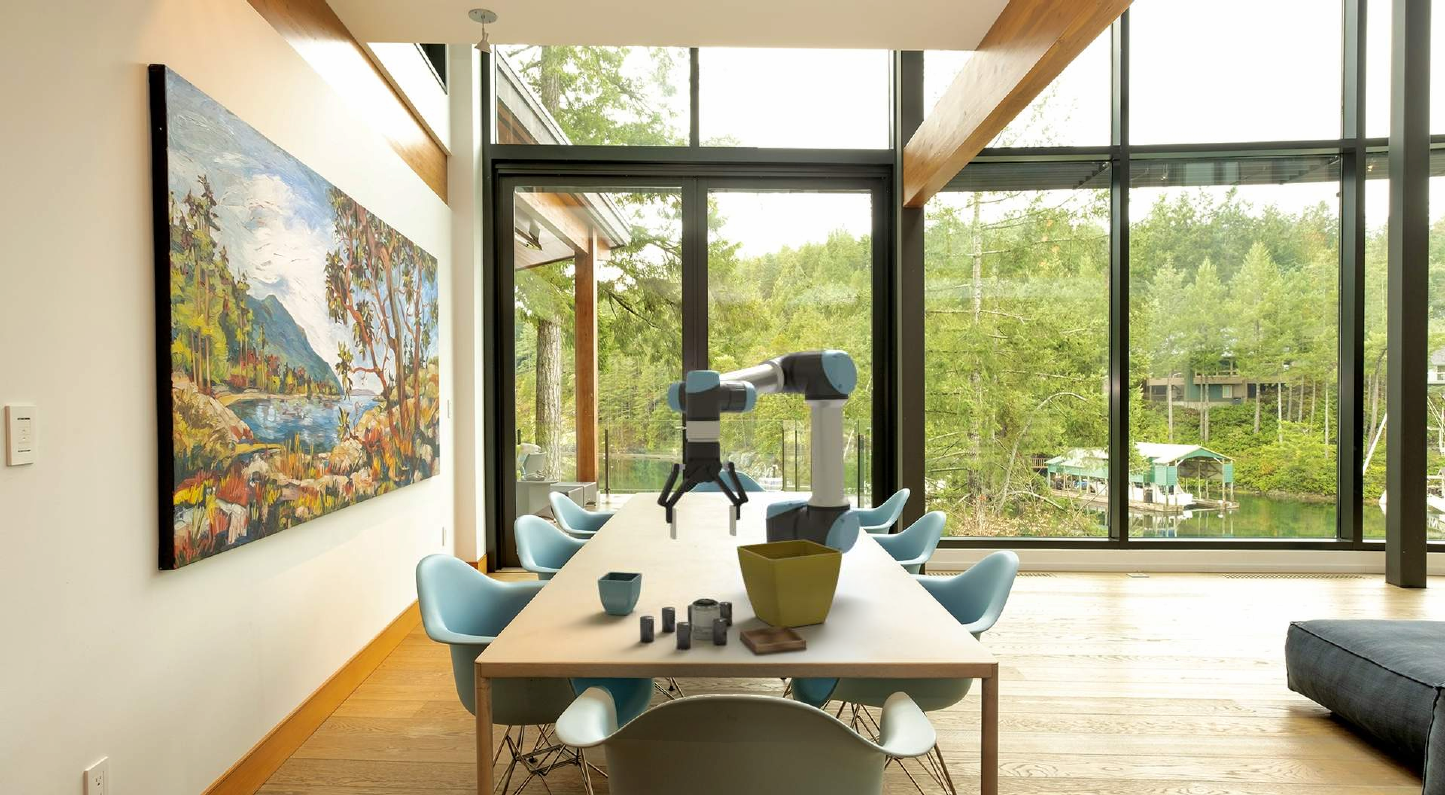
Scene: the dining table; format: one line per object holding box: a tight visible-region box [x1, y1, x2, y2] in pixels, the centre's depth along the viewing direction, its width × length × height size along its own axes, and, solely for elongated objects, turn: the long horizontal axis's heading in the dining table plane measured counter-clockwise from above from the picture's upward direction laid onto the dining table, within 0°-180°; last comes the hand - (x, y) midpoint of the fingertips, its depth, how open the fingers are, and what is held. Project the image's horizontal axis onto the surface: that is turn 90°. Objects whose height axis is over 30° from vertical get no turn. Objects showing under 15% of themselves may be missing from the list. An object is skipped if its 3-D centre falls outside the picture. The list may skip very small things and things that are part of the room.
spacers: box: [639, 601, 733, 651], centre depth 174 cm, size 22×16×5 cm
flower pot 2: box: [736, 540, 843, 628], centre depth 186 cm, size 19×19×17 cm
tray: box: [739, 626, 807, 656], centre depth 168 cm, size 11×11×2 cm
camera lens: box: [690, 598, 720, 641], centre depth 174 cm, size 6×6×8 cm
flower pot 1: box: [597, 571, 643, 616], centre depth 194 cm, size 9×9×9 cm
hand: (703, 536), depth 174 cm, fingers open, 13 cm apart
